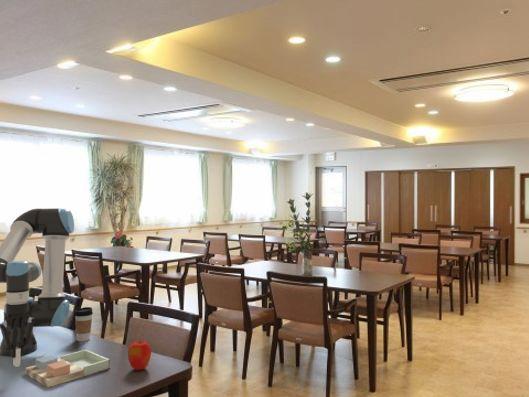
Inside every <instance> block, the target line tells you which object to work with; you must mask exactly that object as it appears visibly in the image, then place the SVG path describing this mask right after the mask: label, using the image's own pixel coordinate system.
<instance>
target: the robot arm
mask: <svg viewBox="0 0 529 397" xmlns="http://www.w3.org/2000/svg"><path fill="white" fill-rule="evenodd" d="M9 228H10V229H9V230H10V231H9V232H8V233H7V235H6V237H5V238H4V240H3V241H2V243H1V244H0V284H6V287H5V288H6V291H5V292H6V295H5V296H6V297H5V304H4V307H3V321H2V322H1V323H0V331H1V335H2V340H1V342H0V355H2V356H5V357H8V356H9V357H10V358H12V365H13V366H14V367H15V368H17V367H21V357H22V356H23V355H27V354H30V353H33V352H34V351H36V350H37V349H38V341H37V339H36V335H35V333H34V328H40V327H41V328H42V327H43V328H44V327H47V328H48V327H50V328H54V327H61V326H63V325H64V324H65V323H66V321H67V319H68V317H69V314H70V307H71V306H70V301H69V300H68V299H66V295H65V293H64V292H63V288H64V286H63V285H64V272H65V258H66V257H65V256H66V241H67V240H68V239H69V238H70V234H73V233H74V231H75V220H74V216H73V213H72V211H71V210H70V209H68V208H32V209H29V210H27V211H25V212H24V213H22V214H20V215H19V216H17V217H16V218H15V219H14V220H13V221H12V223H11V224H10V227H9ZM34 234H42V235H41V236H42V238H43V239H44V241H45V243H44V254H43V255H44V256H43V259H44V260H43V272H42V268H41V266H40V265H39V264H38V263H37V262H34V261H32V262H29V261H27V260H15V259H16V257H17V256H18V255H19V252H20V250H22V248H23V246H24V244H25V243H26V241H27V239H30V238H31V237H32V235H34ZM41 275H42V286H41V293H40V294H39V295H38V296H37V300H34V297H32V296H29V295H30V283H32V282H34V281H36V280H37V279H39V277H40V276H41Z"/></svg>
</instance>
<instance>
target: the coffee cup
mask: <svg viewBox="0 0 529 397" xmlns="http://www.w3.org/2000/svg"><path fill="white" fill-rule="evenodd" d="M93 315H94V313H93V308H92V307H90V306H85V307H80V308H77V309H75V311H74V316H75V317H74V318H75V320H74V321H75V322H74V323H75V332H76V333H75V334H76V341H77V342H87V341H89V340H90V339H91V332H92V321H93Z"/></svg>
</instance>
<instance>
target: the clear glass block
mask: <svg viewBox="0 0 529 397" xmlns="http://www.w3.org/2000/svg"><path fill="white" fill-rule="evenodd" d="M58 359H59V358H57V357H55V356H53V355H51V354H49V355H46V356H42V357H38V358H35V360H34V362H35V363H34V364H35V365H34V366H35V367H37V368H39V369H41V370H45V369H47V365H49V364H53V363H56V362H58Z"/></svg>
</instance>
